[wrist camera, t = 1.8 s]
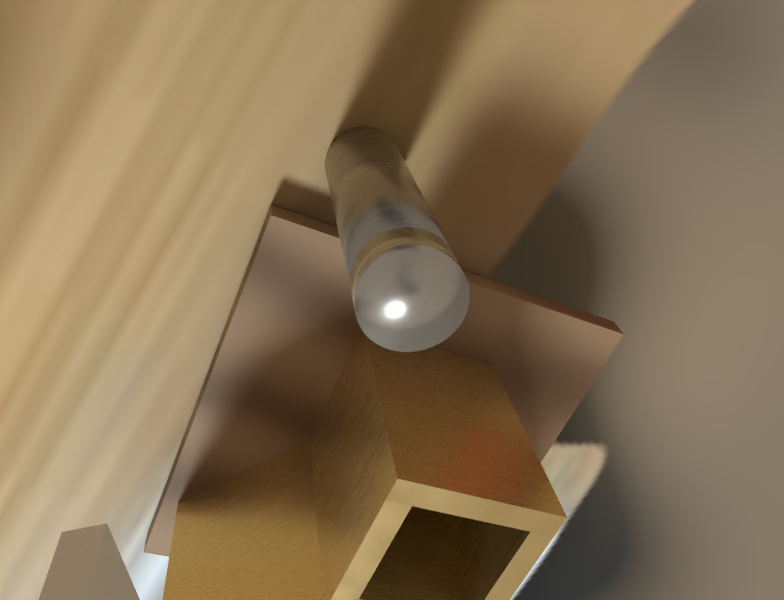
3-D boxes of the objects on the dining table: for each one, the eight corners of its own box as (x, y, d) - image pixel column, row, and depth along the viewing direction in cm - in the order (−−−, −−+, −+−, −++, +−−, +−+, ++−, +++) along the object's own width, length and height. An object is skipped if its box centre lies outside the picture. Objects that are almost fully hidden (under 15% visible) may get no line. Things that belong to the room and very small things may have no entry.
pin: (342, 115, 29) (383, 233, 18) (413, 143, 30) (489, 270, 19) (313, 186, 30) (337, 334, 19) (382, 210, 31) (439, 364, 20)
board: (271, 204, 30) (271, 215, 29) (613, 322, 36) (624, 334, 35) (147, 534, 38) (143, 552, 37) (444, 587, 43) (448, 604, 42)
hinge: (259, 293, 31) (255, 445, 22) (575, 388, 36) (672, 541, 27) (175, 510, 36) (144, 702, 27) (461, 565, 41) (512, 741, 32)
